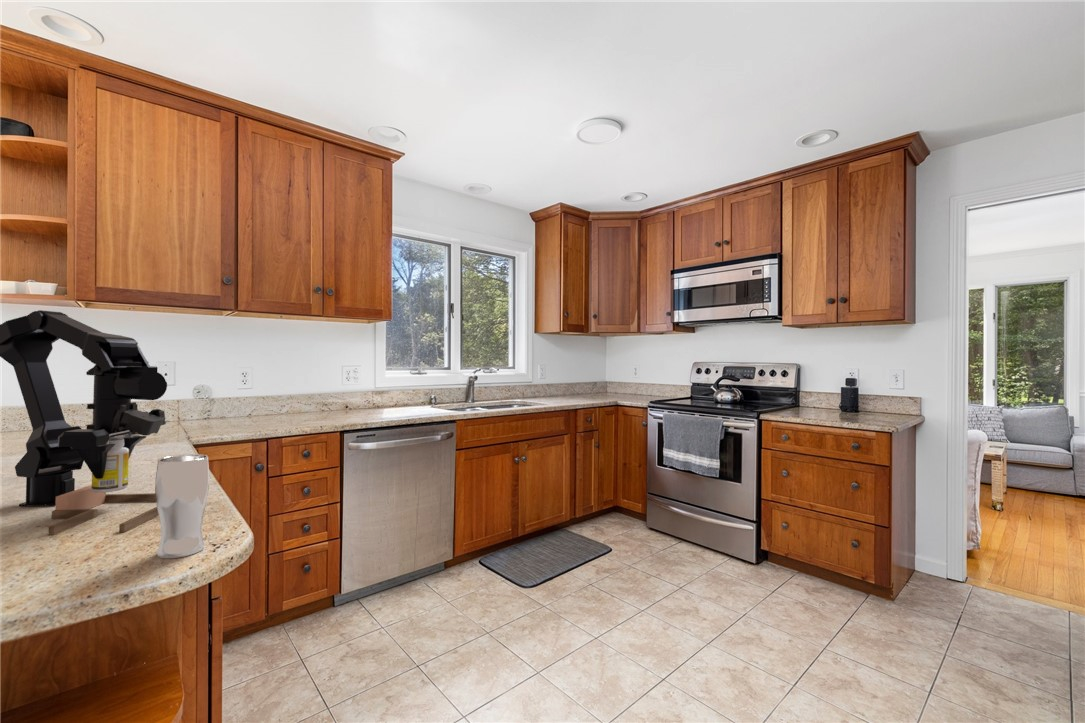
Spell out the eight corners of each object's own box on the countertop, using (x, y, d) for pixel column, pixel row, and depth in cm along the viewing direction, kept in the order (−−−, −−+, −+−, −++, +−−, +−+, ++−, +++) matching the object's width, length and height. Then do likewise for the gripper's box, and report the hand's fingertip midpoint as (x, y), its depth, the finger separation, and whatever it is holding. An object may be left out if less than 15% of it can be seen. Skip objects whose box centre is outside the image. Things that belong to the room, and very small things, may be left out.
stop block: (55, 517, 92) (55, 496, 92) (94, 502, 101) (95, 483, 101) (67, 517, 92) (67, 496, 92) (105, 502, 102) (105, 483, 102)
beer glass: (164, 563, 72) (167, 464, 72) (145, 553, 76) (148, 458, 76) (215, 549, 78) (218, 457, 78) (195, 540, 82) (198, 452, 82)
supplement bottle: (117, 485, 101) (118, 436, 101) (134, 488, 99) (135, 438, 99) (84, 491, 96) (86, 440, 96) (101, 494, 94) (103, 442, 94)
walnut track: (6, 536, 82) (6, 527, 82) (97, 501, 102) (97, 494, 102) (124, 532, 85) (124, 524, 85) (190, 499, 105) (190, 492, 105)
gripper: (125, 402, 90) (123, 486, 90) (182, 395, 108) (180, 464, 108) (56, 401, 88) (54, 487, 88) (126, 394, 106) (124, 465, 106)
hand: (110, 475), depth 98 cm, fingers closed on supplement bottle, 6 cm apart
